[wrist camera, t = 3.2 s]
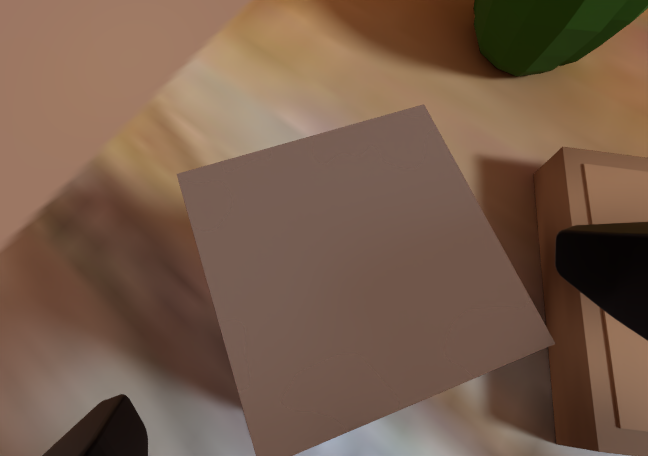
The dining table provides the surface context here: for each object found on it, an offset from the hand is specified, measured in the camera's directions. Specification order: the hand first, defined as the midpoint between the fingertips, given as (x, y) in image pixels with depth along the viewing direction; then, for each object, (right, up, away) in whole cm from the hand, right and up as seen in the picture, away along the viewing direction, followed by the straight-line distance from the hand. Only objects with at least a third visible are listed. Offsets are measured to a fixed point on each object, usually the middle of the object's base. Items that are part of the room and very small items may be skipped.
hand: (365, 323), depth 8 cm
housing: (-1, -3, +9) cm, 10 cm away
